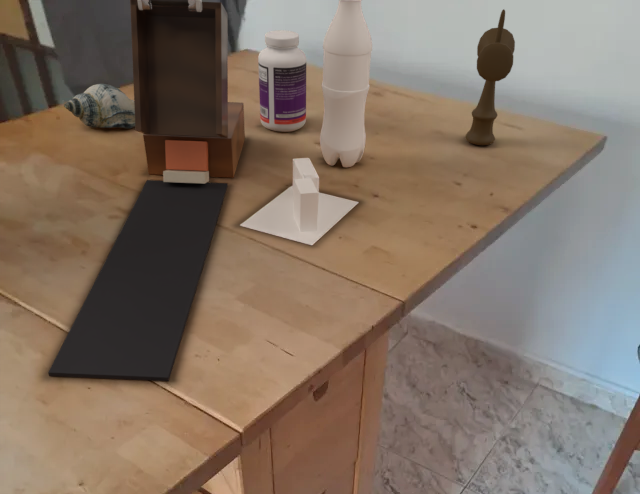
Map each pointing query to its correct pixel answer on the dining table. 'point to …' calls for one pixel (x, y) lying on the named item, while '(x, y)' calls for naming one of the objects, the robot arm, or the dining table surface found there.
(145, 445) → the dining table surface
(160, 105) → the scoop
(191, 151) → the block
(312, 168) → the napkin holder
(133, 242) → the mat
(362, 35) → the water bottle
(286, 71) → the pill bottle
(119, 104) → the seashell
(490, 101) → the kendama
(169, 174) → the block
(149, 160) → the stand
